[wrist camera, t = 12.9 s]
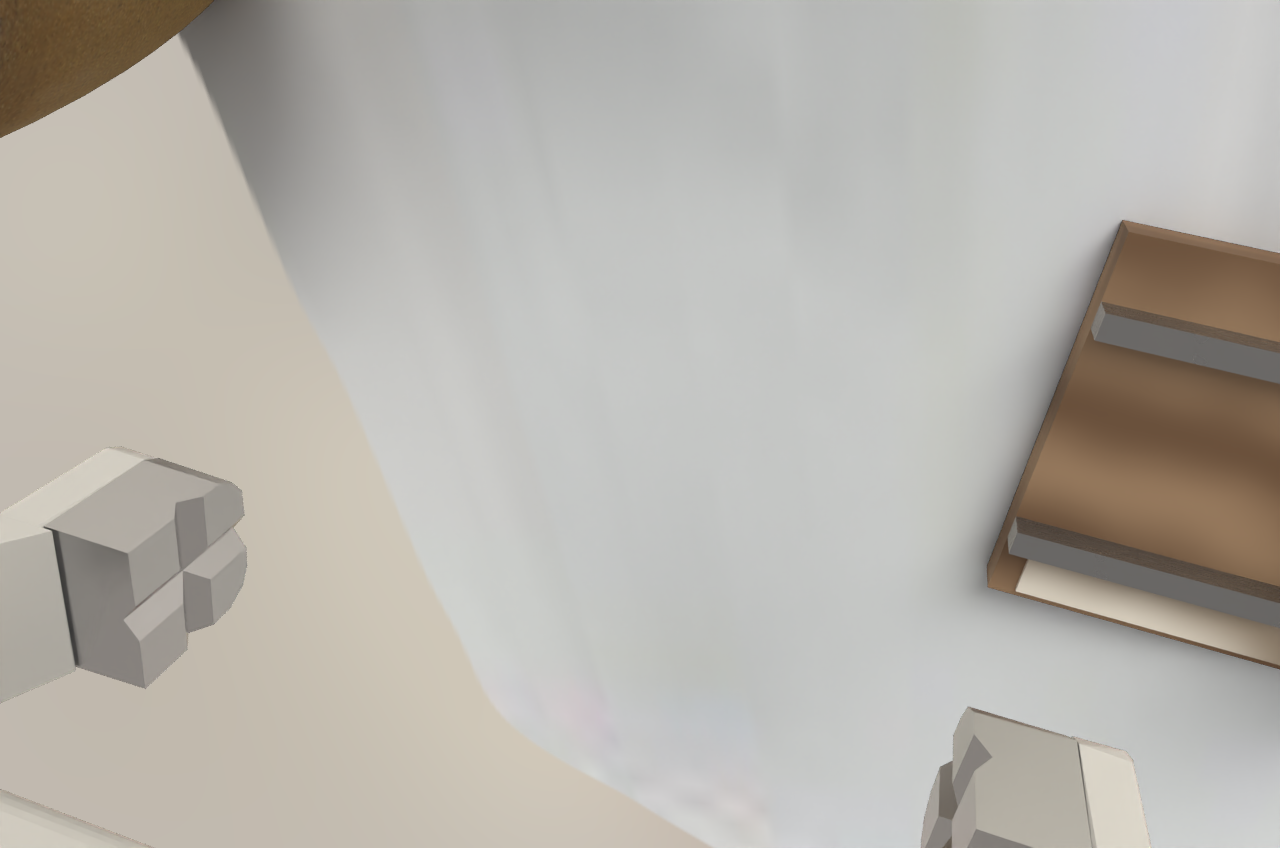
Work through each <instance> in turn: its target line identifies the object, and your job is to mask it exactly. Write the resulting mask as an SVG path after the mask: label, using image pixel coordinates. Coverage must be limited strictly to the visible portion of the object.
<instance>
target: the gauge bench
mask: <svg viewBox="0 0 1280 848" xmlns="http://www.w3.org/2000/svg"><path fill="white" fill-rule="evenodd" d="M1101 302H1106V303H1110V304H1114V305H1119V306H1123V307H1128V308H1132V309H1136V310H1141V311H1145V312H1150V313H1154V314H1158V315H1163V316H1167V317H1172V318H1176V319H1180V320H1185V321H1189V322H1194V323H1198V324H1202V325H1207V326H1211V327H1216V328H1220V329H1224V330H1229V331H1233V332H1238V333H1242V334H1246V335H1251V336H1255V337H1260V338H1264V339H1268V340H1273V341H1277V342H1280V253H1275V252H1270V251H1266V250H1261V249H1256V248H1251V247H1247V246H1242V245H1237V244H1233V243H1228V242H1223V241H1219V240H1214V239H1209V238H1204V237H1200V236H1195V235H1190V234H1186V233H1181V232H1176V231H1172V230H1167V229H1162V228H1158V227H1153V226H1148V225H1143V224H1139V223H1134V222H1129V221H1125V220H1122V223H1121V225H1120V228H1119V230H1118V233H1117V235H1116V238H1115V241H1114V243H1113V246H1112V248H1111V251H1110V253H1109V256H1108V258H1107V261H1106V264H1105V266H1104V269H1103V271H1102V274H1101V276H1100V279H1099V281H1098V284H1097V286H1096V289H1095V292H1094V294H1093V297H1092V299H1091V302H1090V304H1089V307H1088V309H1087V312H1086V315H1085V317H1084V320H1083V322H1082V325H1081V327H1080V330H1079V332H1078V335H1077V338H1076V340H1075V343H1074V345H1073V348H1072V350H1071V353H1070V355H1069V358H1068V361H1067V363H1066V366H1065V368H1064V371H1063V373H1062V376H1061V378H1060V381H1059V384H1058V386H1057V389H1056V391H1055V394H1054V396H1053V399H1052V401H1051V404H1050V406H1049V409H1048V412H1047V414H1046V417H1045V419H1044V422H1043V424H1042V427H1041V429H1040V432H1039V435H1038V437H1037V440H1036V442H1035V445H1034V447H1033V450H1032V452H1031V455H1030V458H1029V460H1028V463H1027V465H1026V468H1025V470H1024V473H1023V475H1022V478H1021V481H1020V483H1019V486H1018V488H1017V491H1016V493H1015V496H1014V498H1013V501H1012V504H1011V506H1010V509H1009V511H1008V514H1007V516H1006V519H1005V521H1004V524H1003V527H1002V529H1001V532H1000V534H999V537H998V539H997V542H996V544H995V547H994V549H993V552H992V555H991V557H990V560H989V562H988V565H987V582H988V587H989V588H993V589H996V590H1000V591H1003V592H1007V593H1010V594H1014V595H1017V596H1021V597H1025V598H1028V599H1032V600H1035V601H1039V602H1042V603H1046V604H1049V605H1053V606H1057V607H1060V608H1064V609H1067V610H1071V611H1074V612H1078V613H1081V614H1085V615H1089V616H1092V617H1096V618H1099V619H1103V620H1106V621H1110V622H1113V623H1117V624H1121V625H1124V626H1128V627H1131V628H1135V629H1138V630H1142V631H1146V632H1149V633H1153V634H1156V635H1160V636H1163V637H1167V638H1170V639H1174V640H1178V641H1181V642H1185V643H1188V644H1192V645H1195V646H1199V647H1202V648H1206V649H1210V650H1213V651H1217V652H1220V653H1224V654H1227V655H1231V656H1234V657H1238V658H1242V659H1245V660H1249V661H1252V662H1256V663H1259V664H1263V665H1266V666H1270V667H1274V668H1277V669H1280V628H1278V627H1274V626H1270V625H1267V624H1263V623H1259V622H1256V621H1252V620H1248V619H1245V618H1241V617H1237V616H1234V615H1230V614H1226V613H1223V612H1219V611H1216V610H1212V609H1208V608H1205V607H1201V606H1197V605H1194V604H1190V603H1186V602H1183V601H1179V600H1175V599H1172V598H1168V597H1165V596H1161V595H1157V594H1154V593H1150V592H1146V591H1143V590H1139V589H1135V588H1132V587H1128V586H1124V585H1121V584H1117V583H1113V582H1110V581H1106V580H1103V579H1099V578H1095V577H1092V576H1088V575H1084V574H1081V573H1077V572H1073V571H1070V570H1066V569H1062V568H1059V567H1055V566H1051V565H1048V564H1044V563H1041V562H1037V561H1033V560H1030V559H1026V558H1022V557H1019V556H1015V555H1011V554H1009V549H1008V535H1009V532H1010V530H1011V527H1012V525H1013V522H1014V520H1015V517H1016V516H1017V517H1021V518H1025V519H1028V520H1032V521H1036V522H1040V523H1043V524H1047V525H1051V526H1055V527H1058V528H1062V529H1066V530H1070V531H1073V532H1077V533H1081V534H1084V535H1088V536H1092V537H1096V538H1099V539H1103V540H1107V541H1111V542H1114V543H1118V544H1122V545H1126V546H1129V547H1133V548H1137V549H1141V550H1144V551H1148V552H1152V553H1155V554H1159V555H1163V556H1167V557H1170V558H1174V559H1178V560H1182V561H1185V562H1189V563H1193V564H1197V565H1200V566H1204V567H1208V568H1212V569H1215V570H1219V571H1223V572H1226V573H1230V574H1234V575H1238V576H1241V577H1245V578H1249V579H1253V580H1256V581H1260V582H1264V583H1268V584H1271V585H1275V586H1279V587H1280V384H1278V383H1274V382H1270V381H1265V380H1261V379H1257V378H1252V377H1248V376H1244V375H1240V374H1235V373H1231V372H1227V371H1223V370H1218V369H1214V368H1210V367H1205V366H1201V365H1197V364H1193V363H1188V362H1184V361H1180V360H1176V359H1171V358H1167V357H1163V356H1159V355H1154V354H1150V353H1146V352H1141V351H1137V350H1133V349H1129V348H1124V347H1120V346H1116V345H1112V344H1107V343H1103V342H1099V341H1095V340H1094V337H1093V334H1092V331H1091V326H1092V323H1093V321H1094V318H1095V316H1096V313H1097V311H1098V308H1099V306H1100V303H1101Z"/></svg>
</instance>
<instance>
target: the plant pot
mask: <svg viewBox="0 0 1280 848" xmlns="http://www.w3.org/2000/svg"><path fill="white" fill-rule="evenodd" d="M213 1H214V0H0V138H1V137H3V136H5V135H8V134H10V133H12V132H14V131H16V130H18V129H20V128H23V127H25V126H27V125H29V124H31V123H33V122H35V121H37V120H39V119H41V118H43V117H45V116H47V115H49V114H50V113H52V112H54V111H56V110H58V109H60V108H62V107H64V106H66V105H68V104H69V103H71V102H73V101H75V100H77V99H79V98H81V97H83V96H85V95H86V94H88V93H90V92H91V91H93V90H95V89H96V88H98V87H100V86H101V85H103V84H105V83H106V82H108V81H110V80H111V79H113V78H114V77H116V76H118V75H119V74H121V73H123V72H124V71H126V70H128V69H129V68H130V67H132V66H133V65H135V64H136V63H138V62H139V61H141V60H142V59H144V58H145V57H146V56H148V55H149V54H151V53H152V52H153V51H155V50H156V49H158V48H159V47H160V46H162V45H163V44H164V43H166V42H167V41H168V40H169V39H171V38H172V37H173V36H175V35H176V34H177V33H179V32H180V31H181V30H182V29H184V28H185V27H186V26H187V25H188V24H189V23H190V22H191V21H193V20H194V19H195V18H196V17H197V16H198V15H199V14H201V13H202V12H203V11H204V10H205V9H206V8H207V7H208V6H209V5H210V4H211V3H212V2H213Z"/></svg>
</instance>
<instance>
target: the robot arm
mask: <svg viewBox="0 0 1280 848" xmlns="http://www.w3.org/2000/svg"><path fill="white" fill-rule="evenodd" d="M243 516H244V507H243V497H242V490H240V489H239V488H238V487H237V486H236V485H235V484H233V483H232V482H230V481H226V480H224V479H220V478H217V477H214V476H211V475H208V474H205V473H202V472H199V471H196V470H193V469H190V468H187V467H184V466H181V465H178V464H175V463H172V462H169V461H166V460H163V459H160V458H154V457H152V456H149V455H146V454H143V453H140V452H136V451H133V450H130V449H127V448H124V447H110V448H105V449H103V450H102V451H100V452H98V453H97V454H95V455H94V456H92V457H90V458H89V459H87V460H86V461H84V462H82V463H81V464H79V465H77V466H76V467H74V468H72V469H71V470H69V471H67V472H66V473H64V474H63V475H61V476H59V477H58V478H56V479H55V480H53V481H51V482H50V483H48V484H46V485H45V486H43V487H41V488H40V489H38V490H36V491H35V492H33V493H32V494H30V495H28V496H27V497H25V498H23V499H22V500H20V501H19V502H17V503H15V504H14V505H12V506H10V507H9V508H7V509H5V510H4V511H2V512H1V513H0V703H2V702H4V701H7V700H9V699H11V698H14V697H16V696H18V695H21V694H23V693H25V692H28V691H30V690H32V689H35V688H37V687H39V686H42V685H44V684H46V683H49V682H51V681H53V680H56V679H58V678H60V677H63V676H65V675H67V674H70V673H72V672H74V671H75V670H76V667H78V668H82V669H85V670H88V671H91V672H94V673H98V674H101V675H104V676H107V677H110V678H113V679H117V680H120V681H123V682H126V683H129V684H132V685H135V686H138V687H142V688H145V689H146V688H147V687H148V686H149V685H150V684H151V683H152V682H153V681H154V680H155V679H156V678H158V677H159V676H160V674H162V673H163V672H164V671H165V670H166V669H167V668H168V667H169V666H170V665H171V664H172V663H173V662H175V661H176V660H177V659H178V658H179V657H180V656H181V655H182V654H183V653H184V652H185V651H186V650H187V644H188V633H190V632H192V631H196V630H199V629H201V628H205V627H208V626H211V625H214V624H215V623H216V622H217V621H218V620H219V619H220V618H221V617H222V616H223V615H224V614H225V613H226V612H227V611H228V610H229V609H230V608H231V606H232V604H233V602H234V600H235V599H236V597H237V595H238V593H239V591H240V589H241V588H242V586H243V582H244V577H245V573H246V568H247V552H246V546H245V545H244V543H243V542H242V540H241V538H240V537H239V535H238V534H237V532H236V531H235V529H234V528H233V527H234V526H235V525H236V524H237V523H238V522H239V521H240V520H241V518H242V517H243ZM0 848H153V847H151V846H148V845H146V844H143V843H140V842H138V841H135V840H133V839H130V838H127V837H125V836H122V835H119V834H117V833H114V832H112V831H109V830H106V829H104V828H101V827H99V826H96V825H93V824H91V823H88V822H86V821H83V820H80V819H77V818H75V817H72V816H70V815H67V814H65V813H62V812H59V811H57V810H54V809H52V808H49V807H46V806H44V805H41V804H38V803H36V802H33V801H30V800H28V799H25V798H23V797H20V796H18V795H15V794H12V793H10V792H7V791H4V790H2V789H0ZM921 848H1152V847H1151V842H1150V838H1149V833H1148V828H1147V824H1146V819H1145V814H1144V810H1143V805H1142V800H1141V796H1140V791H1139V786H1138V782H1137V777H1136V772H1135V768H1134V763H1133V760H1132V758H1131V757H1130V756H1129V754H1128V753H1127V752H1126V751H1123V750H1120V749H1116V748H1113V747H1109V746H1105V745H1102V744H1098V743H1095V742H1091V741H1088V740H1084V739H1081V738H1077V737H1071V738H1070V737H1068V736H1065V735H1062V734H1059V733H1055V732H1052V731H1049V730H1045V729H1042V728H1039V727H1035V726H1032V725H1028V724H1025V723H1022V722H1018V721H1015V720H1012V719H1008V718H1005V717H1002V716H998V715H995V714H992V713H988V712H985V711H982V710H978V709H975V708H971V707H968V708H967V709H966V710H965V712H964V713H963V715H962V716H961V718H960V721H959V723H958V725H957V728H956V730H955V732H954V735H953V761H951V762H949V763H947V764H945V765H943V766H941V767H940V768H939V771H938V774H937V776H936V779H935V782H934V784H933V787H932V790H931V793H930V796H929V800H928V804H927V808H926V812H925V816H924V822H923V829H922V837H921Z"/></svg>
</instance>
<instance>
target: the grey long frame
mask: <svg viewBox="0 0 1280 848" xmlns="http://www.w3.org/2000/svg"><path fill="white" fill-rule="evenodd" d="M1091 331H1092V334H1093V337H1094V340H1095V341H1099V342H1103V343H1107V344H1112V345H1116V346H1120V347H1124V348H1129V349H1133V350H1137V351H1141V352H1146V353H1150V354H1154V355H1159V356H1163V357H1167V358H1171V359H1176V360H1180V361H1184V362H1188V363H1193V364H1197V365H1201V366H1205V367H1210V368H1214V369H1218V370H1223V371H1227V372H1231V373H1235V374H1240V375H1244V376H1248V377H1252V378H1257V379H1261V380H1265V381H1270V382H1274V383H1278V384H1280V342H1277V341H1273V340H1268V339H1264V338H1260V337H1255V336H1251V335H1246V334H1242V333H1238V332H1233V331H1229V330H1224V329H1220V328H1216V327H1211V326H1207V325H1202V324H1198V323H1194V322H1189V321H1185V320H1180V319H1176V318H1172V317H1167V316H1163V315H1158V314H1154V313H1150V312H1145V311H1141V310H1136V309H1132V308H1128V307H1123V306H1119V305H1114V304H1110V303H1106V302H1101V303H1100V306H1099V308H1098V311H1097V313H1096V316H1095V318H1094V321H1093V323H1092V326H1091ZM1008 549H1009V554H1011V555H1015V556H1019V557H1022V558H1026V559H1030V560H1033V561H1037V562H1041V563H1044V564H1048V565H1051V566H1055V567H1059V568H1062V569H1066V570H1070V571H1073V572H1077V573H1081V574H1084V575H1088V576H1092V577H1095V578H1099V579H1103V580H1106V581H1110V582H1113V583H1117V584H1121V585H1124V586H1128V587H1132V588H1135V589H1139V590H1143V591H1146V592H1150V593H1154V594H1157V595H1161V596H1165V597H1168V598H1172V599H1175V600H1179V601H1183V602H1186V603H1190V604H1194V605H1197V606H1201V607H1205V608H1208V609H1212V610H1216V611H1219V612H1223V613H1226V614H1230V615H1234V616H1237V617H1241V618H1245V619H1248V620H1252V621H1256V622H1259V623H1263V624H1267V625H1270V626H1274V627H1278V628H1280V587H1279V586H1275V585H1271V584H1268V583H1264V582H1260V581H1256V580H1253V579H1249V578H1245V577H1241V576H1238V575H1234V574H1230V573H1226V572H1223V571H1219V570H1215V569H1212V568H1208V567H1204V566H1200V565H1197V564H1193V563H1189V562H1185V561H1182V560H1178V559H1174V558H1170V557H1167V556H1163V555H1159V554H1155V553H1152V552H1148V551H1144V550H1141V549H1137V548H1133V547H1129V546H1126V545H1122V544H1118V543H1114V542H1111V541H1107V540H1103V539H1099V538H1096V537H1092V536H1088V535H1084V534H1081V533H1077V532H1073V531H1070V530H1066V529H1062V528H1058V527H1055V526H1051V525H1047V524H1043V523H1040V522H1036V521H1032V520H1028V519H1025V518H1021V517H1017V516H1016V517H1015V520H1014V522H1013V525H1012V527H1011V530H1010V532H1009V535H1008Z"/></svg>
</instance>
